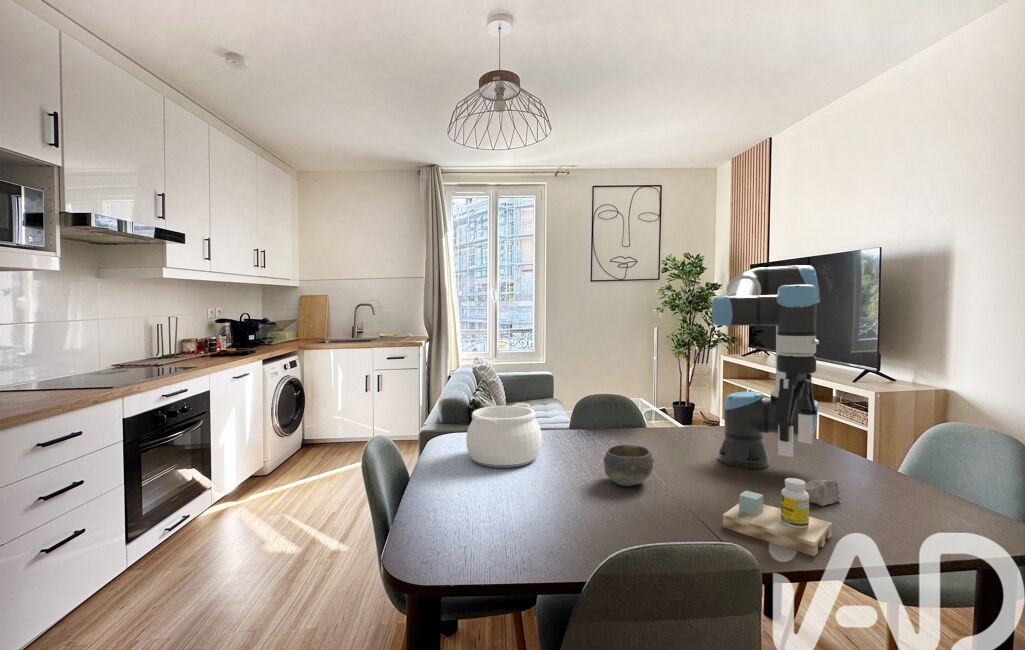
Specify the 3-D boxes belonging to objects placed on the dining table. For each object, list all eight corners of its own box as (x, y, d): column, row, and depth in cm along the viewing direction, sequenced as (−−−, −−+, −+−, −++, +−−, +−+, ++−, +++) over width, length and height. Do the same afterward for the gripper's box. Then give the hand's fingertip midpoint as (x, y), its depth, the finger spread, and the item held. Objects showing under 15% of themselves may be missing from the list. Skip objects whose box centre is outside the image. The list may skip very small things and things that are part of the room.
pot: (515, 478, 147) (514, 423, 147) (448, 464, 161) (447, 414, 161) (556, 453, 172) (556, 406, 172) (496, 443, 186) (495, 399, 185)
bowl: (656, 478, 145) (656, 445, 145) (648, 496, 132) (648, 460, 131) (611, 472, 151) (611, 441, 151) (598, 489, 137) (598, 454, 137)
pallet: (722, 527, 113) (722, 514, 113) (744, 510, 121) (744, 499, 121) (814, 556, 99) (814, 542, 99) (831, 535, 108) (831, 522, 108)
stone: (821, 493, 132) (821, 472, 132) (847, 505, 124) (847, 483, 124) (790, 496, 130) (790, 475, 130) (814, 509, 122) (814, 486, 122)
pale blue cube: (739, 511, 114) (739, 494, 114) (745, 506, 117) (745, 490, 117) (756, 516, 111) (756, 499, 111) (763, 511, 114) (763, 494, 114)
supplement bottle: (775, 518, 110) (776, 477, 109) (797, 518, 110) (798, 476, 110) (791, 529, 104) (791, 485, 104) (814, 528, 105) (815, 484, 104)
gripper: (797, 360, 95) (796, 465, 95) (831, 350, 112) (830, 440, 112) (757, 358, 100) (756, 457, 101) (795, 349, 117) (795, 434, 118)
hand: (795, 448), depth 107 cm, fingers open, 13 cm apart
